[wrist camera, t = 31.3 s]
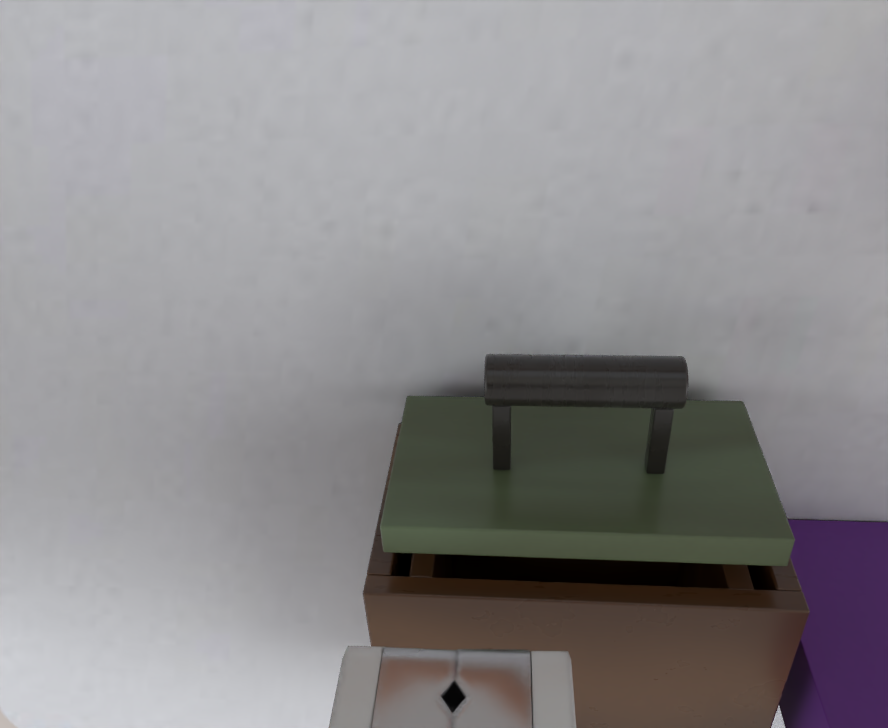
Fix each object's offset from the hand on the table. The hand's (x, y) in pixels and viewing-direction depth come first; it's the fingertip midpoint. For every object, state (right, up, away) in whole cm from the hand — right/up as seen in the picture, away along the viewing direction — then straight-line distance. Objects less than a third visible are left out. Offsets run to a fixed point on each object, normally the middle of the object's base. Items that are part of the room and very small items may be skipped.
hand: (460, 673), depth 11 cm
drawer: (+5, -1, +21) cm, 22 cm away
